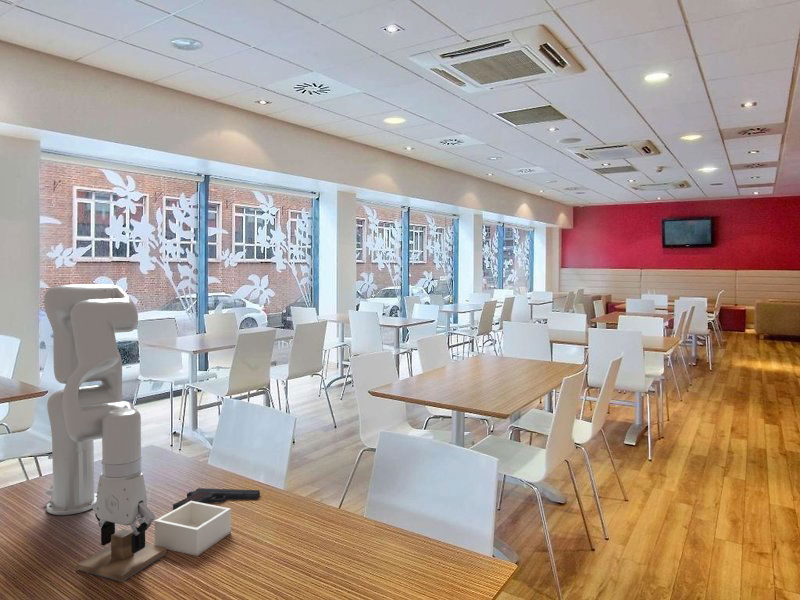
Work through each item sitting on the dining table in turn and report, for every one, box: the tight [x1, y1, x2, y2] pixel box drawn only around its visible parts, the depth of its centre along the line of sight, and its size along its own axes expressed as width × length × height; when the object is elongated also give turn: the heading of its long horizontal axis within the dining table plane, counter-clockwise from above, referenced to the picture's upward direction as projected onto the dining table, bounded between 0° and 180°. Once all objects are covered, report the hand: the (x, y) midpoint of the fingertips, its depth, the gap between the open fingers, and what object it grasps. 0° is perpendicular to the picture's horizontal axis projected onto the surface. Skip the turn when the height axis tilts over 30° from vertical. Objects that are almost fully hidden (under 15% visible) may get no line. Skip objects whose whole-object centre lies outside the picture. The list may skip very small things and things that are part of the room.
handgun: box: [172, 487, 261, 511], centre depth 154 cm, size 2×20×12 cm
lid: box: [76, 528, 168, 581], centre depth 123 cm, size 12×12×6 cm
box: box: [154, 501, 232, 557], centre depth 133 cm, size 12×12×6 cm
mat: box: [78, 552, 167, 583], centre depth 123 cm, size 12×12×1 cm
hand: (123, 546), depth 123 cm, fingers open, 8 cm apart
